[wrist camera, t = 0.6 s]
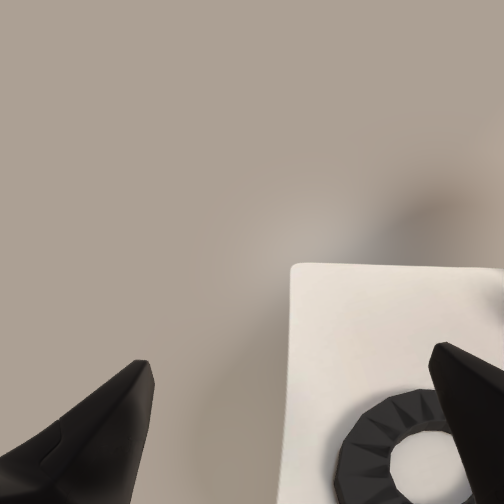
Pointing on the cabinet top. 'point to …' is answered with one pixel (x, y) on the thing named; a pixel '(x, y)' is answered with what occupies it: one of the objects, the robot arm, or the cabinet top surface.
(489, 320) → the cabinet top surface
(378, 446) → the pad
